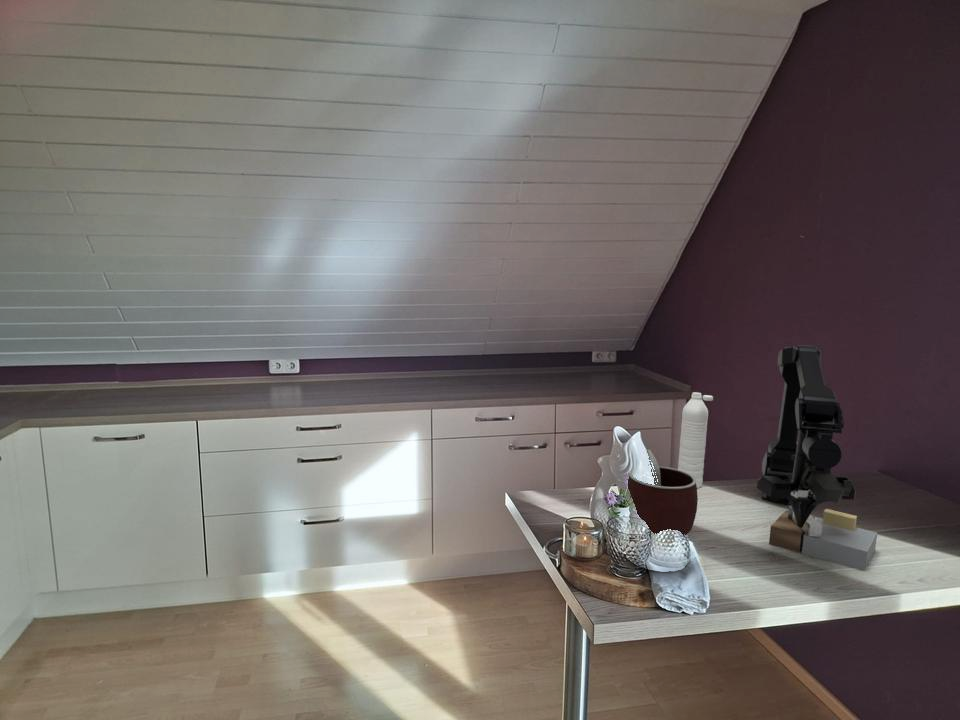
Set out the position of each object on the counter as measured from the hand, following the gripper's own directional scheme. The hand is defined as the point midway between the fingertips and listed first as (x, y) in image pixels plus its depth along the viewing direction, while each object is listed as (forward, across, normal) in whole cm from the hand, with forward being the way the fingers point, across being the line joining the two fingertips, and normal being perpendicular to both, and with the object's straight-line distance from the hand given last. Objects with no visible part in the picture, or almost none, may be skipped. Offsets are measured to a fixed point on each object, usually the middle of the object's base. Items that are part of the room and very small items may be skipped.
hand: (799, 526), depth 138 cm
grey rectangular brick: (+5, +9, -2) cm, 10 cm away
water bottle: (+6, -4, +39) cm, 39 cm away
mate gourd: (+7, -31, 0) cm, 32 cm away
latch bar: (+1, +3, +3) cm, 4 cm away
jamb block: (+5, +2, +5) cm, 8 cm away
